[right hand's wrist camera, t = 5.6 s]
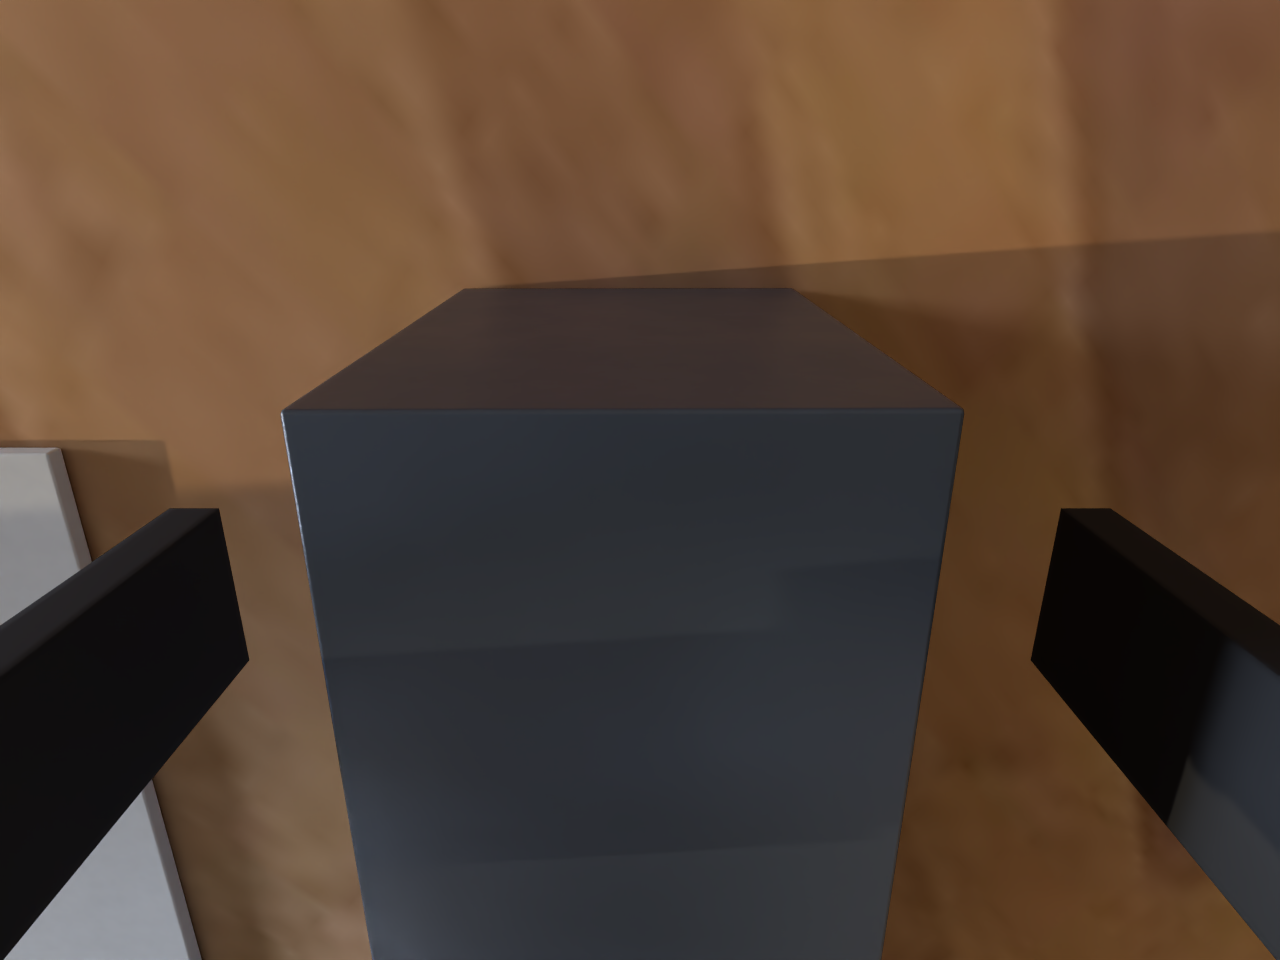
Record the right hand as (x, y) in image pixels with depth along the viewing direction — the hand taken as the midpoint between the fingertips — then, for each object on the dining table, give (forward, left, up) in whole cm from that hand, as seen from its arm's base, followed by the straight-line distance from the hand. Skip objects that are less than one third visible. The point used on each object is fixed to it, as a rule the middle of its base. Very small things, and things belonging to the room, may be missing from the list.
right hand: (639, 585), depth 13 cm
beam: (0, -11, -4) cm, 11 cm away
